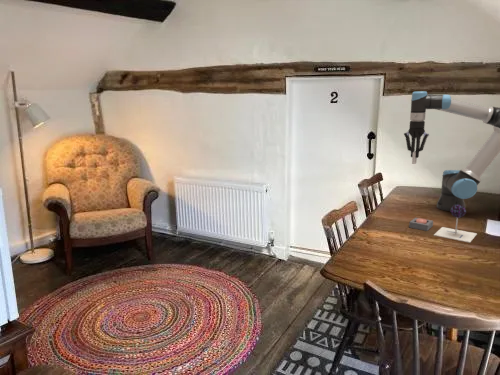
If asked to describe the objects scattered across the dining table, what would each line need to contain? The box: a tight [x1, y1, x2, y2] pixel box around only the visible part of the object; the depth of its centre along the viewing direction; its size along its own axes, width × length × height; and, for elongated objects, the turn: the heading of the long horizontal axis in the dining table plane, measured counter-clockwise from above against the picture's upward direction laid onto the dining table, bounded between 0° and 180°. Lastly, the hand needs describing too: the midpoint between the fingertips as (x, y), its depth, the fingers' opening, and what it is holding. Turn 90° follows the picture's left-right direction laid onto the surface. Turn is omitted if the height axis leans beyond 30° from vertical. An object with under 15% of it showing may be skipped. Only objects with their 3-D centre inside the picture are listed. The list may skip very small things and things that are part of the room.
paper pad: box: [433, 226, 478, 243], centre depth 196 cm, size 14×16×1 cm
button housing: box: [408, 217, 434, 232], centre depth 208 cm, size 9×9×3 cm
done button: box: [416, 217, 428, 224], centre depth 208 cm, size 5×5×3 cm
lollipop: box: [449, 204, 467, 234], centre depth 194 cm, size 7×7×15 cm
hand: (414, 163), depth 223 cm, fingers closed
